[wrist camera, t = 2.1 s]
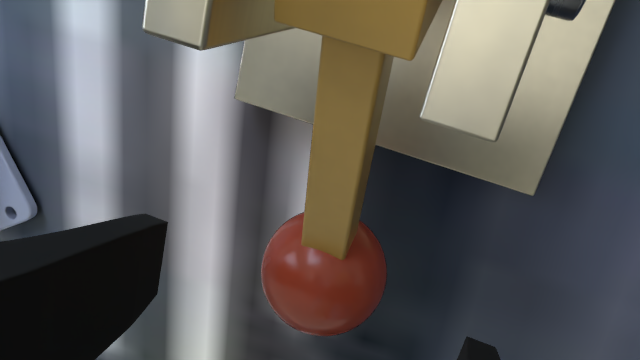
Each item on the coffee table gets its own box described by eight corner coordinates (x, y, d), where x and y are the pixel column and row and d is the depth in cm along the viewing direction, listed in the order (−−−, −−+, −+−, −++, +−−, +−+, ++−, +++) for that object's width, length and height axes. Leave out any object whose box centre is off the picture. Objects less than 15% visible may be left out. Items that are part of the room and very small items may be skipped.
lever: (390, 279, 17) (354, 377, 15) (288, 241, 17) (240, 331, 15) (539, -201, 8) (502, -127, 6) (324, -243, 9) (222, -190, 7)
